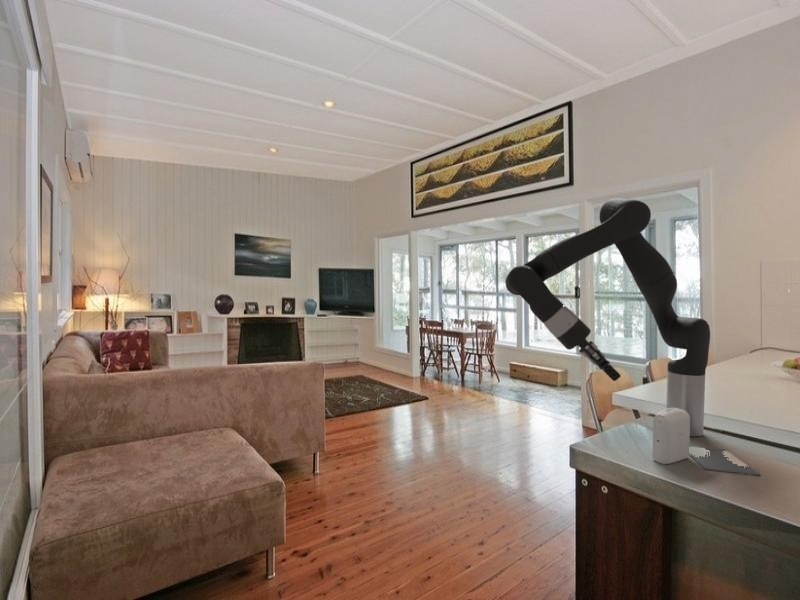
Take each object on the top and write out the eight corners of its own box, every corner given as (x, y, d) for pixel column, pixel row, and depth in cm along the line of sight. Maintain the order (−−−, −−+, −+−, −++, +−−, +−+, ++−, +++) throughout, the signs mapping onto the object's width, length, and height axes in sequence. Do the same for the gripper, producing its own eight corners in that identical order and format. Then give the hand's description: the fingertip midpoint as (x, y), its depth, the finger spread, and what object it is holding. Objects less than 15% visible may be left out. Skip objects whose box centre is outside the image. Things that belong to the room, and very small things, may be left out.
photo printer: (667, 466, 102) (669, 413, 102) (649, 459, 106) (650, 408, 105) (691, 458, 107) (693, 408, 107) (673, 452, 111) (675, 404, 110)
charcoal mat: (679, 446, 116) (679, 444, 116) (726, 450, 113) (727, 449, 113) (704, 469, 100) (704, 468, 100) (760, 475, 97) (760, 474, 97)
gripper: (581, 318, 105) (636, 373, 102) (574, 315, 118) (623, 364, 115) (557, 339, 106) (610, 394, 103) (552, 334, 119) (600, 382, 116)
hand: (617, 378), depth 109 cm, fingers closed
